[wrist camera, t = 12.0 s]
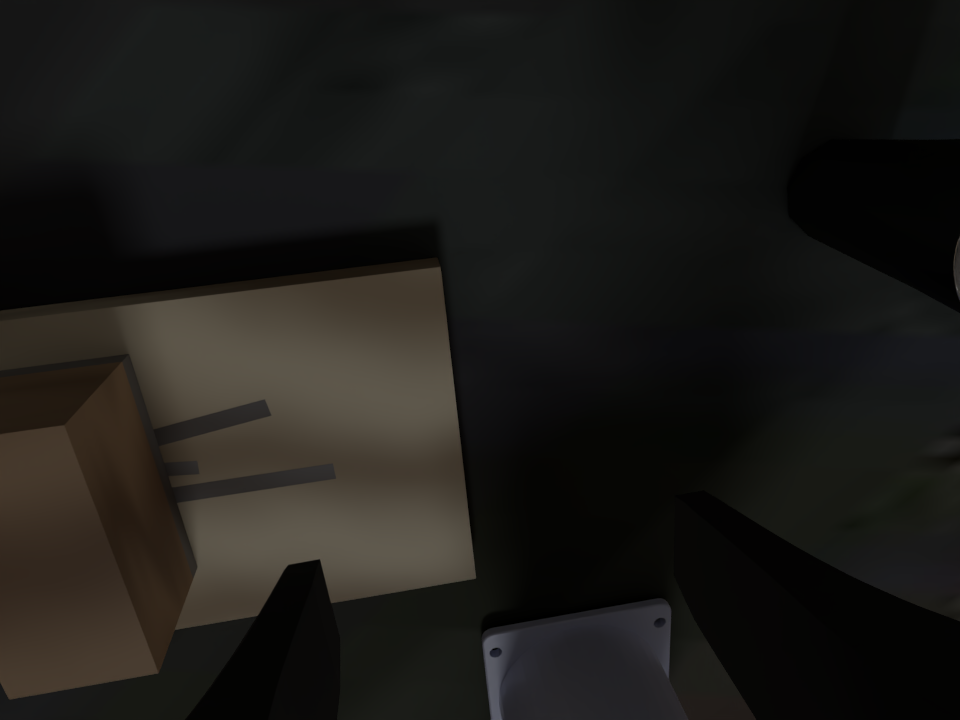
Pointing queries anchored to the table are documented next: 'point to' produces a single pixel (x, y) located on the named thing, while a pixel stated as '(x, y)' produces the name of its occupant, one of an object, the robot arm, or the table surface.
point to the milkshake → (886, 208)
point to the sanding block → (84, 530)
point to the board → (290, 424)
